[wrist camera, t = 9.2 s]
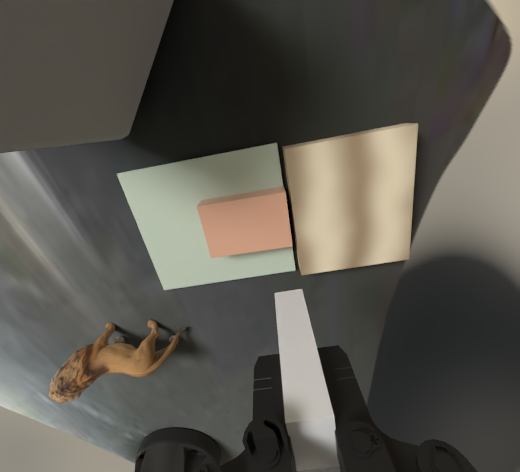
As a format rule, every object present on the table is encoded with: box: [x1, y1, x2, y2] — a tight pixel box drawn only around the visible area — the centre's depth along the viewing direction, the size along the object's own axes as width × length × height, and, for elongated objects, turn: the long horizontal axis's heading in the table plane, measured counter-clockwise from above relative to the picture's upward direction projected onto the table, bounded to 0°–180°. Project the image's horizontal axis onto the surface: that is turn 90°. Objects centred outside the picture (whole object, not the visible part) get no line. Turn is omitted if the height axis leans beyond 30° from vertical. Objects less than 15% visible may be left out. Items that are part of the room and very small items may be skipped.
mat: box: [117, 143, 296, 290], centre depth 29 cm, size 17×15×1 cm
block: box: [197, 186, 293, 258], centre depth 27 cm, size 9×6×2 cm, turn 100°
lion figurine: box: [49, 320, 186, 403], centre depth 32 cm, size 15×5×9 cm, turn 102°
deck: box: [282, 123, 418, 275], centre depth 27 cm, size 12×14×2 cm
